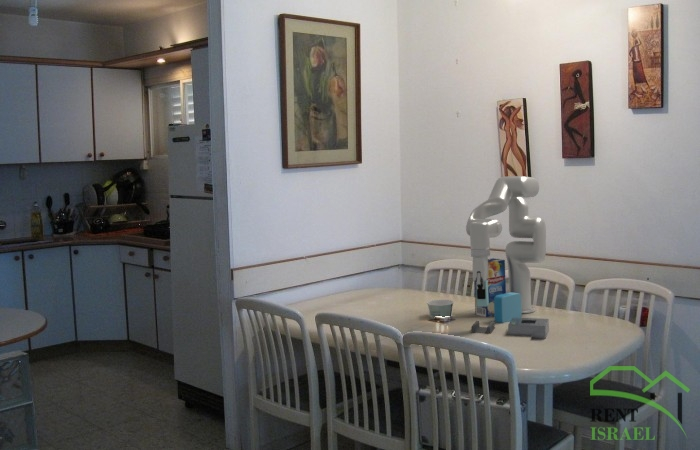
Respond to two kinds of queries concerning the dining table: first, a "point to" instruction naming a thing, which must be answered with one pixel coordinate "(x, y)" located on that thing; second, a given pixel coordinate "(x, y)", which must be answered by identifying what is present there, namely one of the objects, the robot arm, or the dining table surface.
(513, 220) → the robot arm
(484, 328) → the bracket
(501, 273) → the juice carton
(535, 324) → the port block
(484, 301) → the teal plug
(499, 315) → the data package
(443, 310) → the food container
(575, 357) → the dining table surface
